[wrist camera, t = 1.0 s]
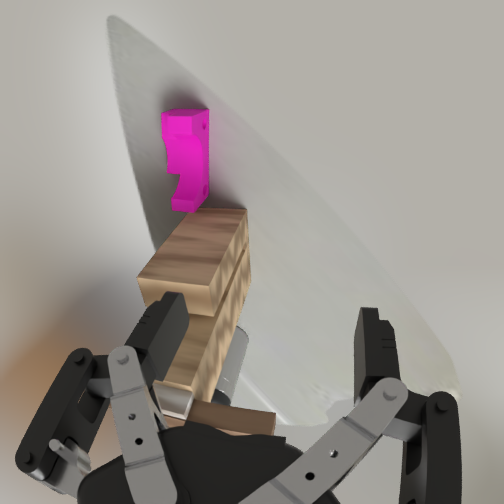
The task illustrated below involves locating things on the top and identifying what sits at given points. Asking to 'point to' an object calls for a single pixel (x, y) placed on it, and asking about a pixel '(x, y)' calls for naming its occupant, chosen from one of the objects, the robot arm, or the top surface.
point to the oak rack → (200, 299)
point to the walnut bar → (227, 418)
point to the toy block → (187, 155)
